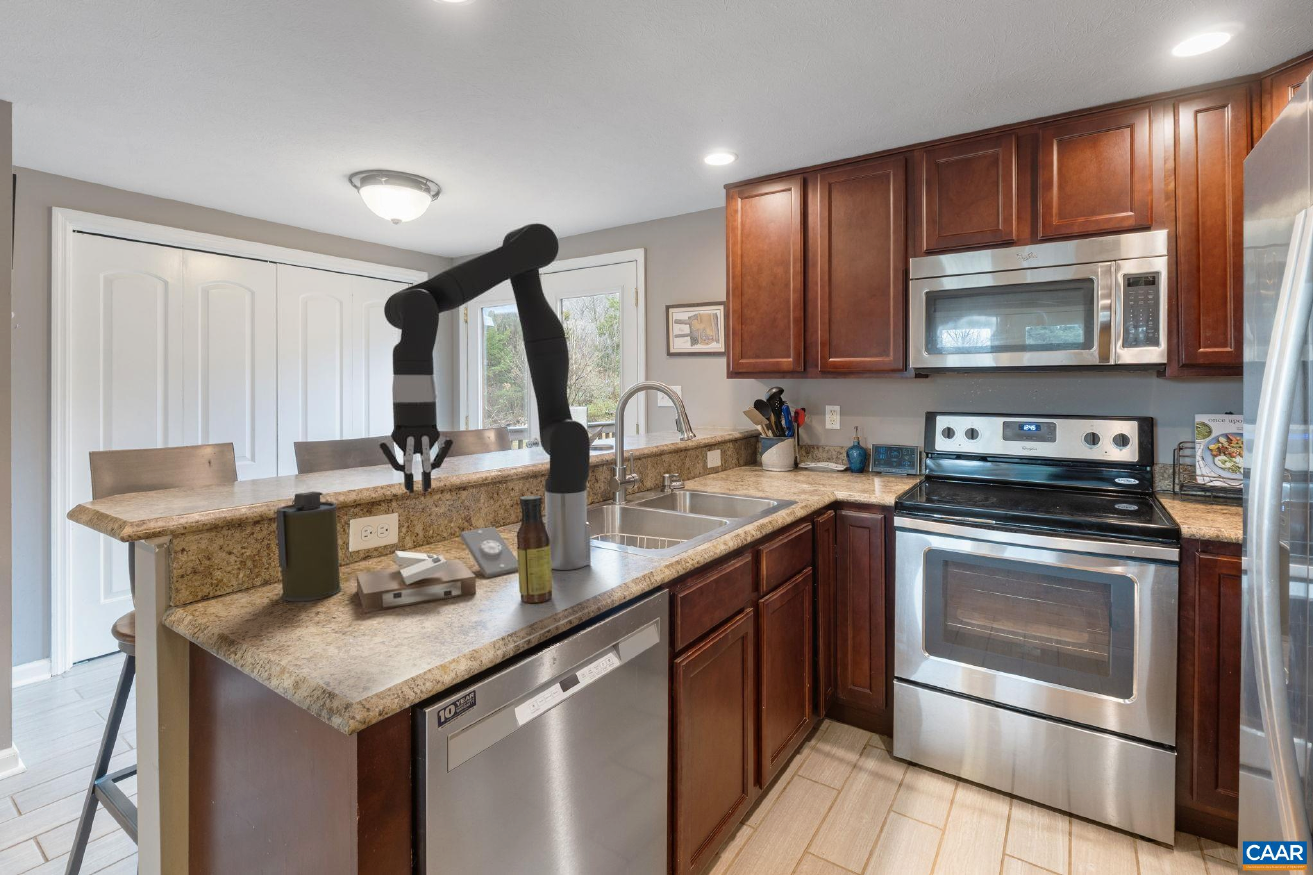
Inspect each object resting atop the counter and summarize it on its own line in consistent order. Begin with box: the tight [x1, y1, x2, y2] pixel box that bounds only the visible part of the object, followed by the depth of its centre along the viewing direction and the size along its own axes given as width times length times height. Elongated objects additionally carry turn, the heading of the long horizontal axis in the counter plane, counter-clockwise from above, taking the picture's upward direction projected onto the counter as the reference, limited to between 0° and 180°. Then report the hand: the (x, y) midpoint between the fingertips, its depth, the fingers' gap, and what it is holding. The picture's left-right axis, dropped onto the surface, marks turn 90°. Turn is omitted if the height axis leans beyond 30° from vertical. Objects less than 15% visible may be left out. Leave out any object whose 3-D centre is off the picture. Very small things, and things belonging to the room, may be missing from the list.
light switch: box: [459, 526, 518, 579], centre depth 141 cm, size 8×6×14 cm
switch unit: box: [355, 558, 477, 613], centre depth 124 cm, size 20×15×4 cm
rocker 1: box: [393, 550, 437, 566], centre depth 128 cm, size 8×5×2 cm, turn 122°
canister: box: [275, 491, 342, 603], centre depth 123 cm, size 11×10×20 cm
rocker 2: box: [400, 554, 449, 585], centre depth 121 cm, size 8×5×2 cm, turn 120°
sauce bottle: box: [516, 494, 553, 604], centre depth 120 cm, size 7×6×20 cm
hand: (417, 491), depth 118 cm, fingers closed
